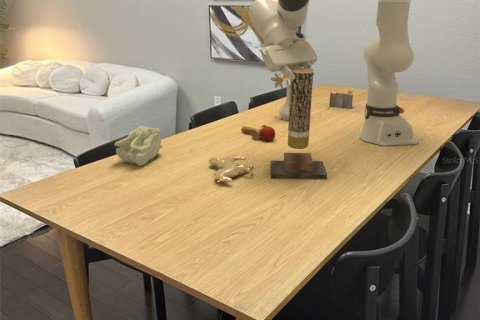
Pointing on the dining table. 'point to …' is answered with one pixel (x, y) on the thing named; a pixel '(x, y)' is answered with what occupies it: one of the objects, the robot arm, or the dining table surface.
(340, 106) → the ruin model on sheet
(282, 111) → the flower vase
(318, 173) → the plinth
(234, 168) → the unicorn
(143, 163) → the folded clay sculpture
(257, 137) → the kendama
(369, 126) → the robot arm
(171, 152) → the dining table surface
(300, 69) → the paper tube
